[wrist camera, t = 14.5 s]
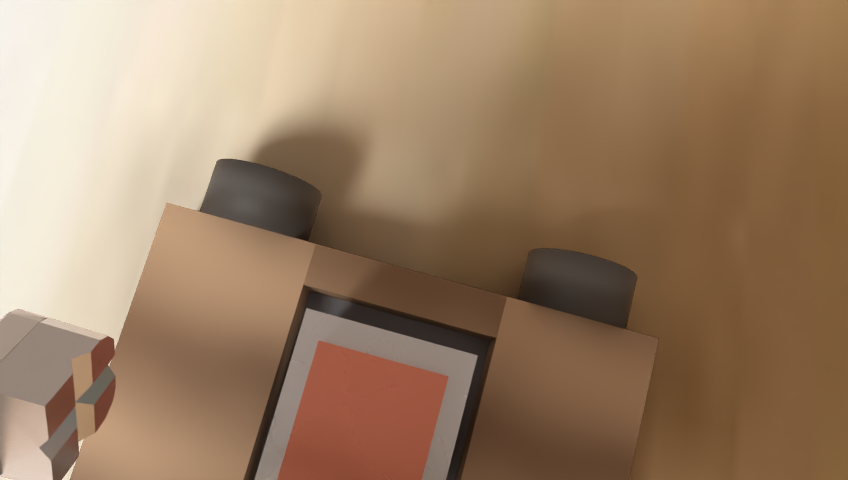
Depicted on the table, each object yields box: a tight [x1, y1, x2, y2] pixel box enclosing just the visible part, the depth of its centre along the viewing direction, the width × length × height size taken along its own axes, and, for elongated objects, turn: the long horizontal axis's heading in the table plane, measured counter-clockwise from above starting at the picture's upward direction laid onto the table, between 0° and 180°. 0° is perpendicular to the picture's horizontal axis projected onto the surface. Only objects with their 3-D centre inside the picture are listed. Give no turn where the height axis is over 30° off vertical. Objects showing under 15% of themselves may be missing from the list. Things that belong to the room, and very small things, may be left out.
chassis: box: [70, 159, 659, 480], centre depth 27 cm, size 15×18×4 cm
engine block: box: [255, 308, 478, 480], centre depth 24 cm, size 6×5×8 cm
